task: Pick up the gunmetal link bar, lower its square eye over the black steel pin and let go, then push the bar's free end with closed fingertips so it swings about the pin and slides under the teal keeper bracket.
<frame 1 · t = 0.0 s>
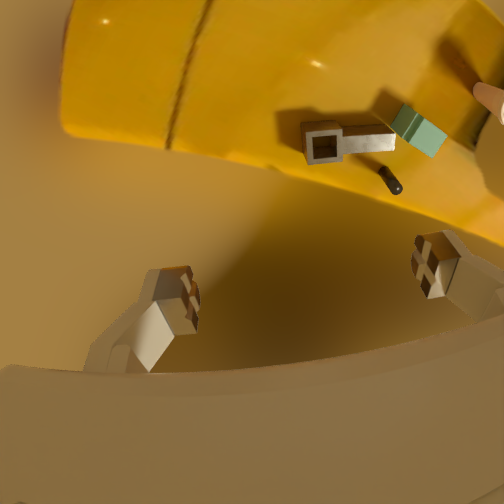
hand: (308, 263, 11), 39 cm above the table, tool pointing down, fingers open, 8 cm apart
smoothie: (478, 90, 39), on the table
link: (385, 132, 46), on the table
pintle: (384, 171, 51), on the table
keeper: (413, 125, 45), on the table
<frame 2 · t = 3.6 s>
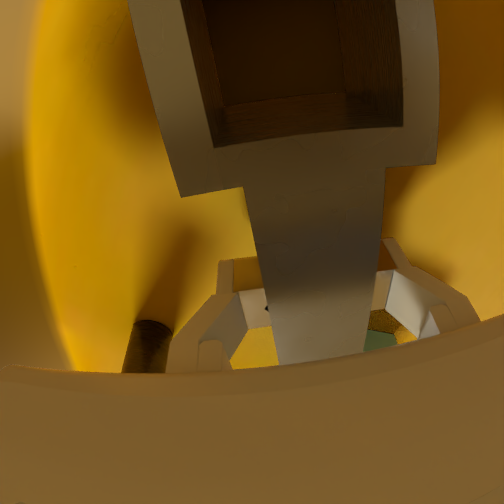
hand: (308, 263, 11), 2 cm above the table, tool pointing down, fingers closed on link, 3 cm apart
link: (307, 312, 15), on the table, touching gripper
pintle: (152, 333, 15), on the table
keeper: (323, 366, 18), on the table
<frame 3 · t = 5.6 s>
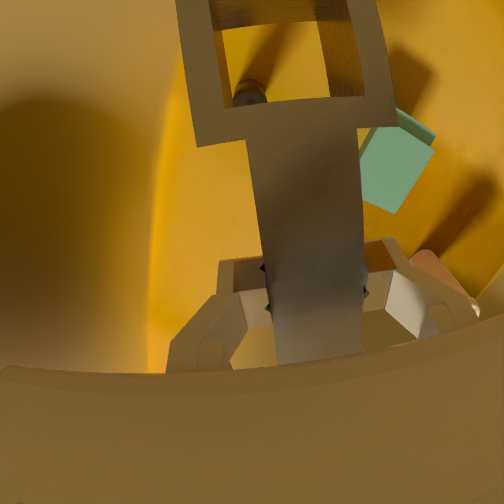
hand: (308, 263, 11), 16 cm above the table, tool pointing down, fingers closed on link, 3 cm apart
smoothie: (420, 260, 32), on the table
link: (307, 328, 15), point 15 cm above the table, tilted 17°, touching gripper
pintle: (249, 92, 21), on the table
keeper: (366, 143, 24), on the table
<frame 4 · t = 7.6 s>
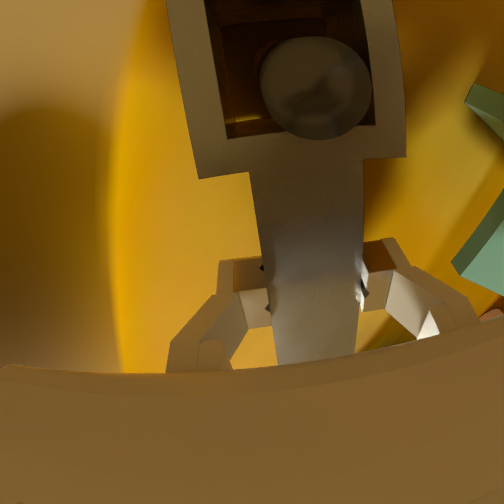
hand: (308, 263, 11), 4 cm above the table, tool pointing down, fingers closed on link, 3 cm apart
link: (304, 319, 16), point 2 cm above the table, tilted 8°, touching gripper
pintle: (283, 66, 10), on the table
keeper: (466, 173, 13), on the table
when the fingers open (3 cm above the table, at t = 8.1 s): link stays where it is, on the table.
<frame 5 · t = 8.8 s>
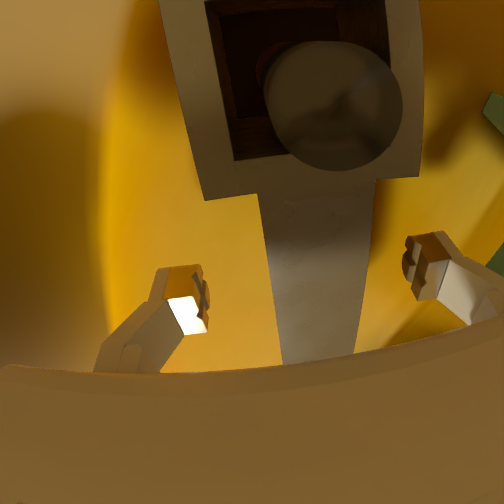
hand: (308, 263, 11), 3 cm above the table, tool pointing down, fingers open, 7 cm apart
link: (306, 305, 16), on the table
pintle: (288, 71, 9), on the table
keeper: (480, 187, 12), on the table
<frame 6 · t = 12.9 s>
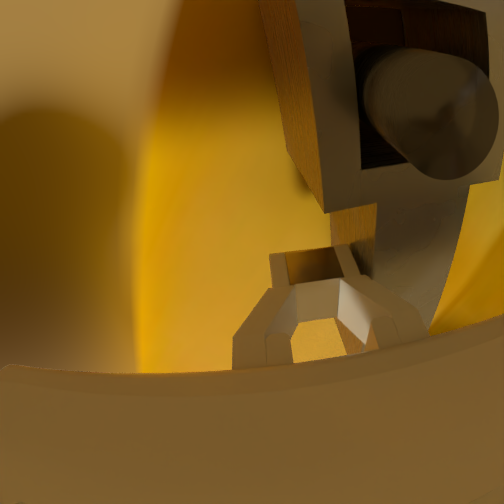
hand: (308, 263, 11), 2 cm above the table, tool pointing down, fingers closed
link: (359, 306, 15), on the table, tilted 5°, touching gripper
pintle: (347, 71, 8), on the table
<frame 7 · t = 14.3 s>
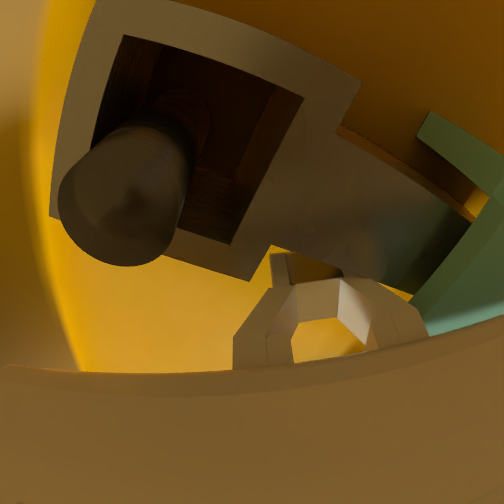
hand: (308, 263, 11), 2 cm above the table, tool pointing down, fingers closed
link: (446, 231, 12), on the table, touching gripper
pintle: (178, 120, 9), on the table
keeper: (420, 217, 12), on the table
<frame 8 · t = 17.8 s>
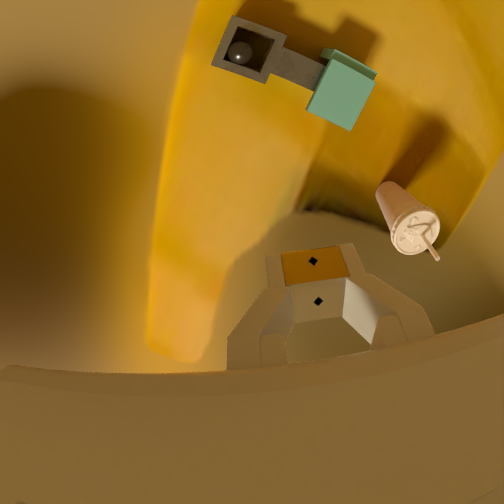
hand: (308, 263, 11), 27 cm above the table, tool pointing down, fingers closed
smoothie: (387, 192, 39), on the table
link: (344, 91, 31), on the table
pintle: (240, 51, 28), on the table
keeper: (328, 87, 31), on the table
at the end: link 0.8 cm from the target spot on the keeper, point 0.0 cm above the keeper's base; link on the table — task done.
